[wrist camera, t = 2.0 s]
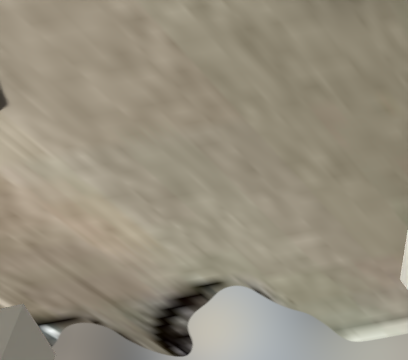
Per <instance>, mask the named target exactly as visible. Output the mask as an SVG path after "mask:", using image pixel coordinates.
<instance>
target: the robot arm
mask: <svg viewBox="0 0 408 360" xmlns="http://www.w3.org/2000/svg"><path fill="white" fill-rule="evenodd" d="M400 280H401V282H402V283H403V284H404V285H405V287H406V288H407V289H408V231H407V238H406V244H405V251H404V257H403V264H402V270H401V277H400ZM54 357H55V352H54V350H53V349H52V347H51V345H50V344H49V342H48V341H47V339H46V338H45V336H44V335H43V333H42V332H41V330H40V328H39V327H38V325H37V324H36V322H35V321H34V319H33V318H32V316H31V314H30V313H29V311H28V310H27V308H26V307H25V305H24V304H20V305H16V306H11V307H6V308H2V309H0V360H54Z"/></svg>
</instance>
